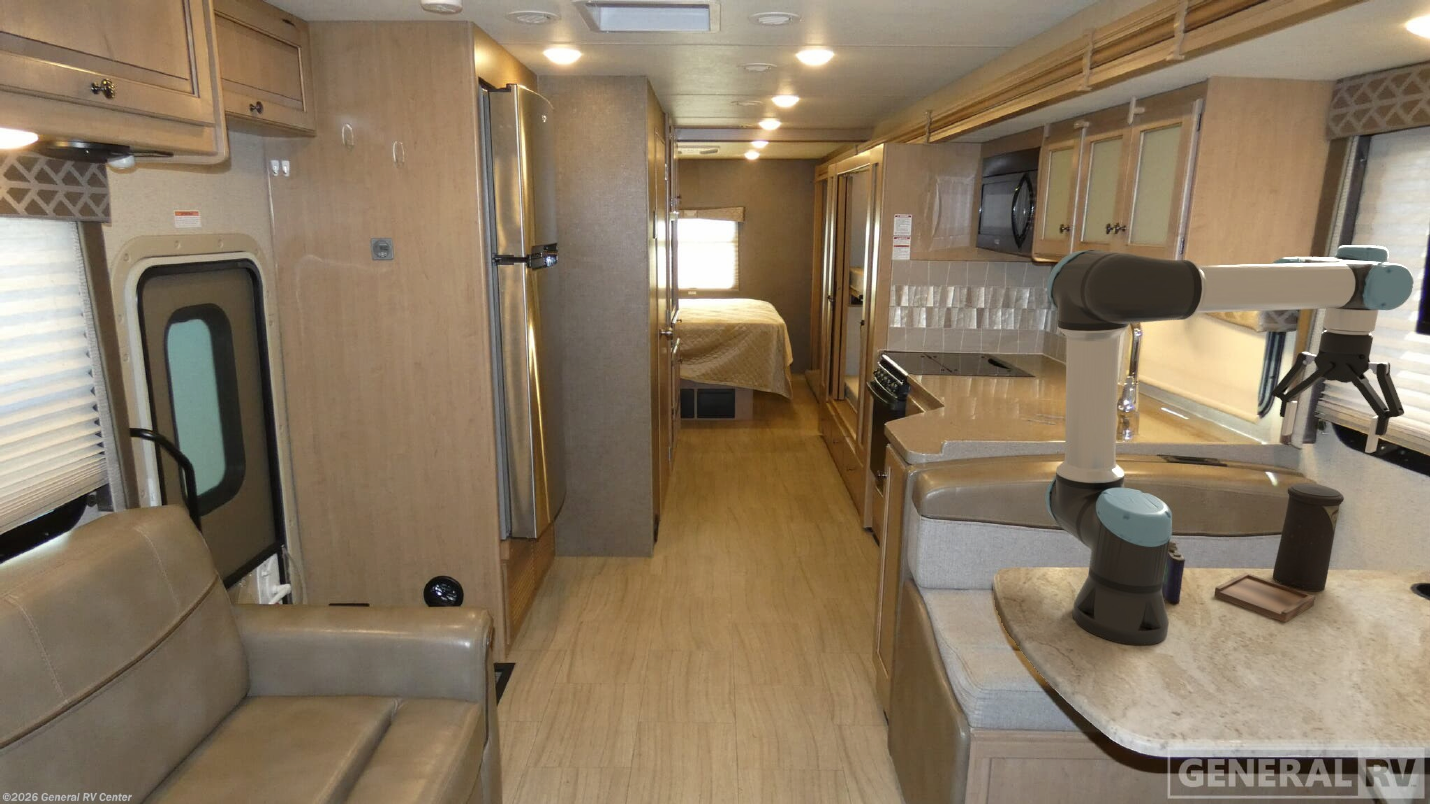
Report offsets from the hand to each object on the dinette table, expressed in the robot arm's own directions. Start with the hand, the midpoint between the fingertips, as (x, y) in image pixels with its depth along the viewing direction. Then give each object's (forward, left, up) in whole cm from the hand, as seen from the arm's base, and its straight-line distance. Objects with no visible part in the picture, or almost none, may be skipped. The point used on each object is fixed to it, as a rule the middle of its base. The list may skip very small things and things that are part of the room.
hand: (1326, 442), depth 152 cm
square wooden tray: (-6, -13, -29) cm, 32 cm away
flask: (-22, -20, -29) cm, 42 cm away
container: (0, 0, -29) cm, 29 cm away
